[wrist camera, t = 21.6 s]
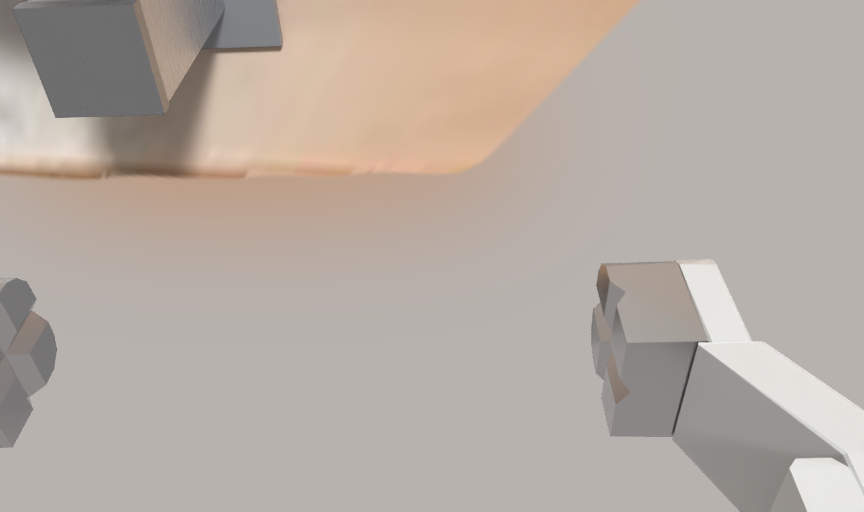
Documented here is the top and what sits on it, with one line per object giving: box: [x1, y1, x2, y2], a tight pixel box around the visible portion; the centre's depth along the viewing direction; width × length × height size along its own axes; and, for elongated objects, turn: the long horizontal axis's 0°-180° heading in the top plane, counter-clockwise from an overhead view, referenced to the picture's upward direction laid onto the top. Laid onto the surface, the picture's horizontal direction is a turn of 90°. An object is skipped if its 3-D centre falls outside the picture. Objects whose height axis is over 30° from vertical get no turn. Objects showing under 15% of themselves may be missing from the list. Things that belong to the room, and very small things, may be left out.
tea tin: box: [13, 0, 225, 118], centre depth 38 cm, size 5×5×13 cm
